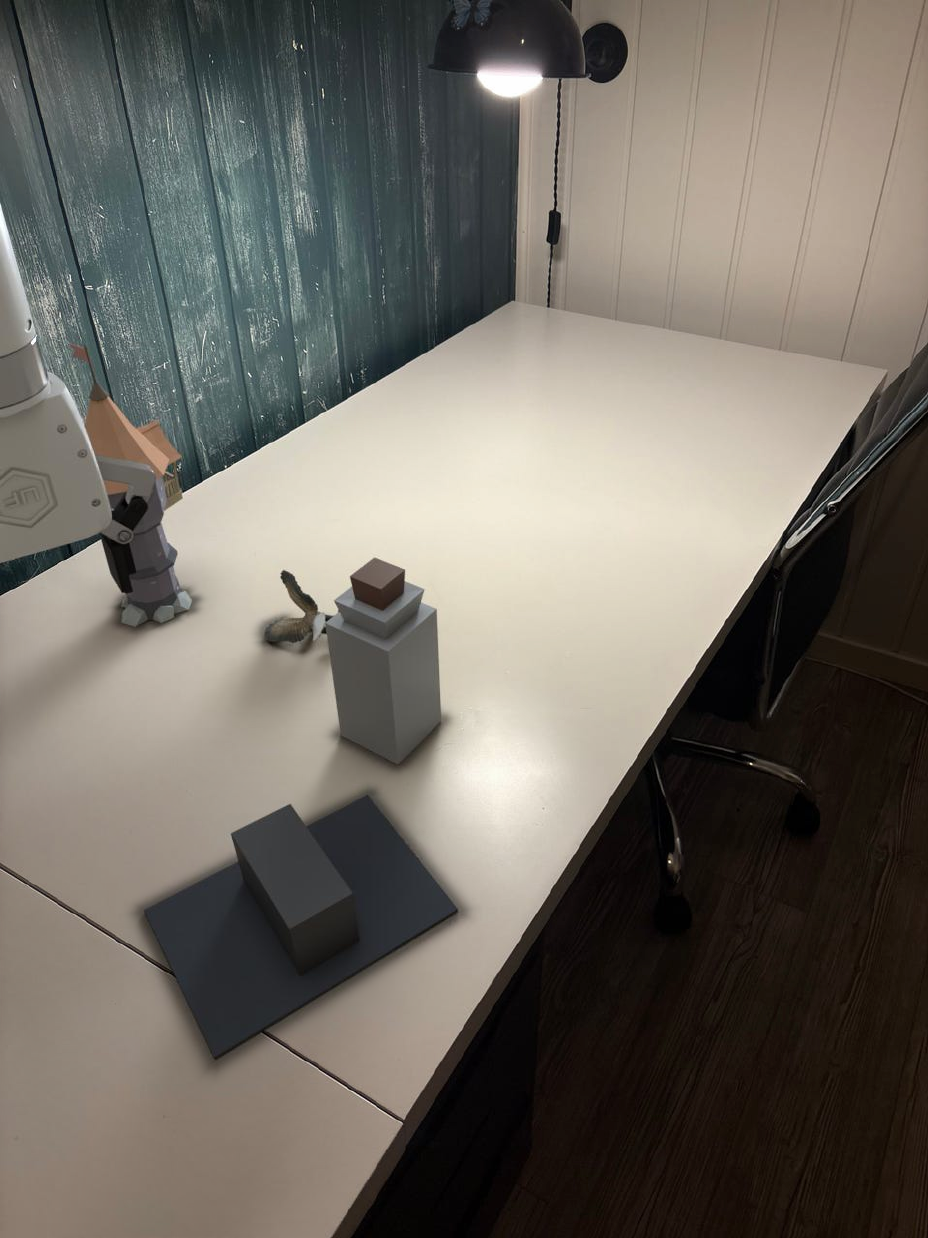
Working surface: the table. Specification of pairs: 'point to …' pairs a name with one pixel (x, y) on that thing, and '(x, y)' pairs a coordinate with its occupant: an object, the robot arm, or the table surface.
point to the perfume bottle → (385, 662)
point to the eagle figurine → (297, 627)
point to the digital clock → (296, 888)
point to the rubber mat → (249, 949)
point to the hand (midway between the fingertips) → (53, 605)
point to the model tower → (149, 545)
